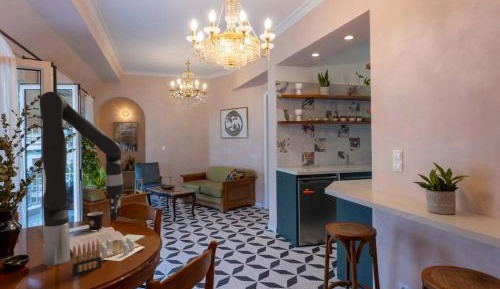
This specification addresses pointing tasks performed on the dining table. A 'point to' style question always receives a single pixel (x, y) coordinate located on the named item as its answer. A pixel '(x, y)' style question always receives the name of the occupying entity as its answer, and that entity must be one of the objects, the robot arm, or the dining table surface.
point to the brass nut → (116, 246)
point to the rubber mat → (133, 237)
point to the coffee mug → (94, 220)
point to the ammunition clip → (86, 259)
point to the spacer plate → (123, 255)
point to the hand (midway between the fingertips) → (116, 217)
